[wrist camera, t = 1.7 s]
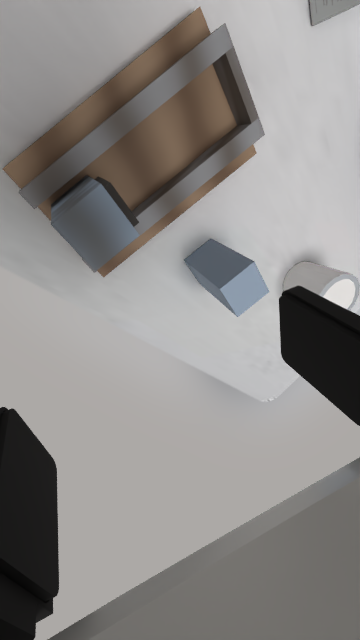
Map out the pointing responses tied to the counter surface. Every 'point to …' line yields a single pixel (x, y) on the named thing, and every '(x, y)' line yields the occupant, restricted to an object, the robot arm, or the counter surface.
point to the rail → (143, 145)
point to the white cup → (324, 283)
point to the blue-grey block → (227, 276)
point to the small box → (329, 8)
